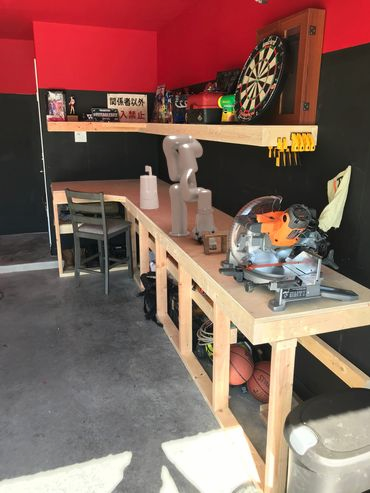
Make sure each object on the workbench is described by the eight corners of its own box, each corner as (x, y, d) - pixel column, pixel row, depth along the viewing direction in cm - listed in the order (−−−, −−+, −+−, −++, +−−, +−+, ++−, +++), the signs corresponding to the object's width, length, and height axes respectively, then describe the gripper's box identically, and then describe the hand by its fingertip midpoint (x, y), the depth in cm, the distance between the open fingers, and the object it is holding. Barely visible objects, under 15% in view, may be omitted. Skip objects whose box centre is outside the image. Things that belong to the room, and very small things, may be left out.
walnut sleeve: (203, 252, 228) (203, 234, 225) (224, 250, 231) (224, 232, 228) (205, 254, 224) (205, 236, 221) (226, 252, 227) (227, 234, 224)
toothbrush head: (199, 231, 255) (218, 235, 232) (199, 242, 256) (218, 247, 233) (191, 232, 253) (209, 236, 230) (191, 243, 254) (210, 249, 232)
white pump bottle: (136, 207, 350) (134, 166, 340) (152, 204, 358) (150, 164, 349) (146, 210, 338) (144, 167, 328) (162, 207, 346) (161, 166, 337)
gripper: (216, 209, 244) (216, 239, 249) (188, 211, 240) (188, 242, 245) (221, 211, 237) (221, 243, 242) (191, 214, 233) (192, 246, 238)
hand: (204, 242), depth 244 cm, fingers closed on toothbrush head, 5 cm apart
